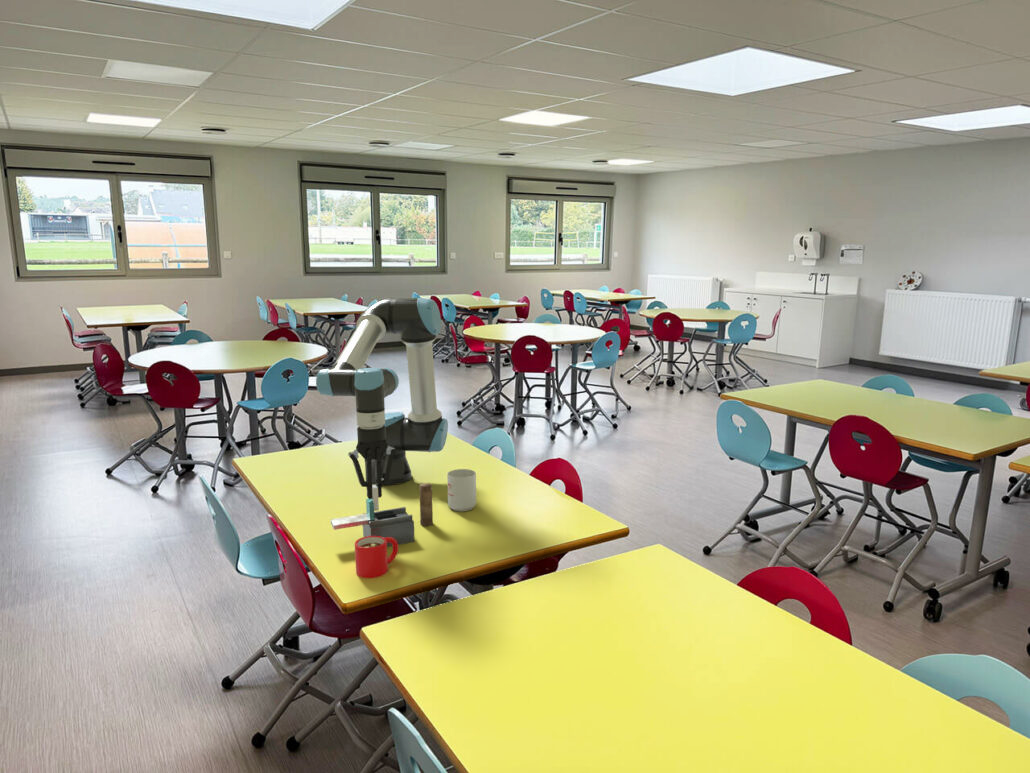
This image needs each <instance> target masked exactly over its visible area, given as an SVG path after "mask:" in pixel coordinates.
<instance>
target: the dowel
mask: <svg viewBox="0 0 1030 773" xmlns="http://www.w3.org/2000/svg"><path fill="white" fill-rule="evenodd" d="M432 488H433V485H432V483H430V482H429V483H428V482H423V483H420V484H419V490H418V491H419V515H420V516H419V518H420V521H419V522H420V526H422V527H430V526H432V525H433V524H434V521H433V519H434V518H433V511H434V510H433V489H432Z"/></svg>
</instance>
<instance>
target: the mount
mask: <svg viewBox="0 0 1030 773" xmlns="http://www.w3.org/2000/svg"><path fill="white" fill-rule="evenodd" d="M362 514H367V512H364V513H363V512H362ZM374 518H375V521H370V522H369V524H366V525H362V534H363V537H366V536H381V537H384V538H386V537H392V538H394V539H395V540H396V541H397V543H398V546H399V545H404V544H409V543H415V521H414V519H413V514H408V512H407V508H406V506H404V507H396V508H390V509H383V510H377V511H374ZM388 547H393V546H392V544H391V543H387V548H388Z"/></svg>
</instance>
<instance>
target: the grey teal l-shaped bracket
mask: <svg viewBox="0 0 1030 773" xmlns="http://www.w3.org/2000/svg"><path fill="white" fill-rule="evenodd" d="M365 504H366V513H367V514H363V513H361V514H356V515H350V516H343V517H338V518H331V519H330V525H331V527H332V528H333V530H336V531H337V530H340V529H347V528H352V527H358V526H363V525H366V524H369V522H370V521H375V518H374V512H375V511H374V503H373V501H372V500H371V499H369V498H366V499H365Z"/></svg>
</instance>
